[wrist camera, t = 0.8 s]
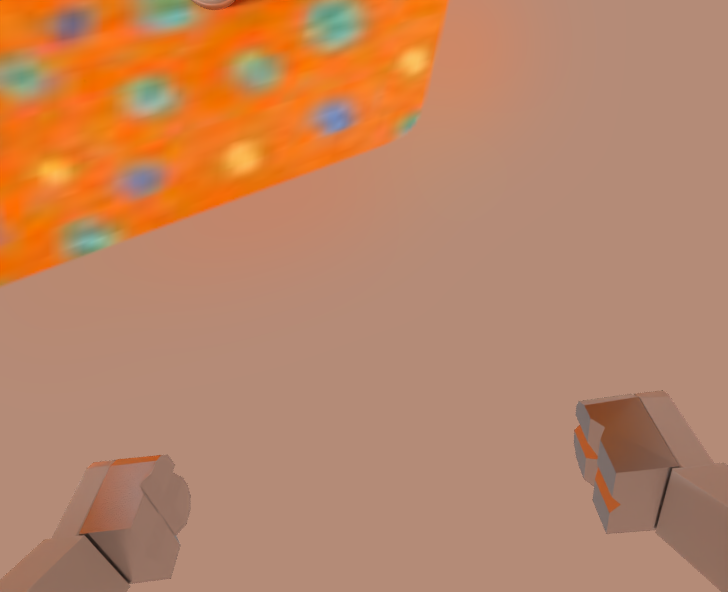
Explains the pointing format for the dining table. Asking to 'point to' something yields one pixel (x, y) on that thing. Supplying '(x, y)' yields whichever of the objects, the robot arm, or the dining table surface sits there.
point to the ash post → (213, 4)
